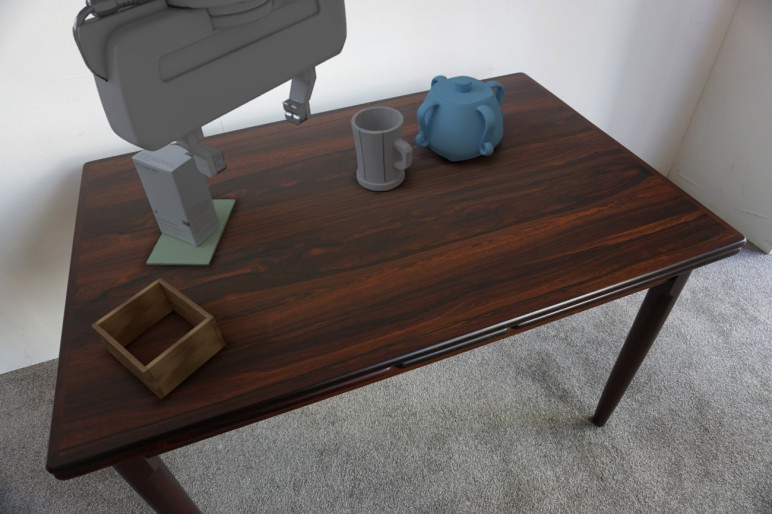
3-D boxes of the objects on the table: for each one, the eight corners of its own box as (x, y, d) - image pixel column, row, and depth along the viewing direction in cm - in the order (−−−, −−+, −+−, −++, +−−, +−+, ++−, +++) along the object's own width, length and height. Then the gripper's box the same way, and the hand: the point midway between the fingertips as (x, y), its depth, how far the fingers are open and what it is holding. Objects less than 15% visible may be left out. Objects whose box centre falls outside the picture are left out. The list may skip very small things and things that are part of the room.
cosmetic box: (161, 233, 86) (126, 157, 76) (186, 212, 90) (156, 137, 79) (199, 248, 83) (168, 171, 73) (224, 226, 87) (198, 149, 76)
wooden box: (161, 399, 64) (143, 372, 60) (110, 353, 70) (90, 325, 66) (226, 345, 70) (213, 316, 66) (174, 305, 75) (160, 277, 71)
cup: (415, 164, 98) (415, 106, 90) (412, 194, 92) (411, 134, 83) (360, 163, 99) (354, 105, 91) (353, 192, 93) (347, 133, 84)
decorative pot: (510, 132, 105) (519, 66, 95) (488, 175, 95) (496, 107, 85) (434, 118, 110) (435, 54, 101) (405, 158, 100) (404, 91, 90)
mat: (209, 265, 81) (208, 263, 81) (146, 264, 82) (145, 263, 81) (235, 201, 92) (235, 199, 92) (181, 200, 93) (180, 199, 93)
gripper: (90, 16, 26) (177, 225, 36) (353, -72, 38) (365, 105, 47) (31, -5, 29) (125, 193, 39) (291, -81, 40) (314, 87, 50)
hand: (258, 144), depth 43 cm, fingers open, 8 cm apart
